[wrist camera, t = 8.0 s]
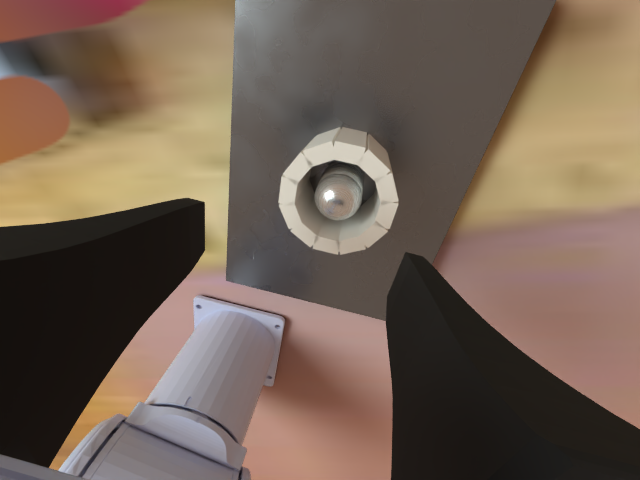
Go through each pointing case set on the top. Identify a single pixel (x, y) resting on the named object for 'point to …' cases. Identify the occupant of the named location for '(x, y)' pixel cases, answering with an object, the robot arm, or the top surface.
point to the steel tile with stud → (364, 127)
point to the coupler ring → (369, 217)
